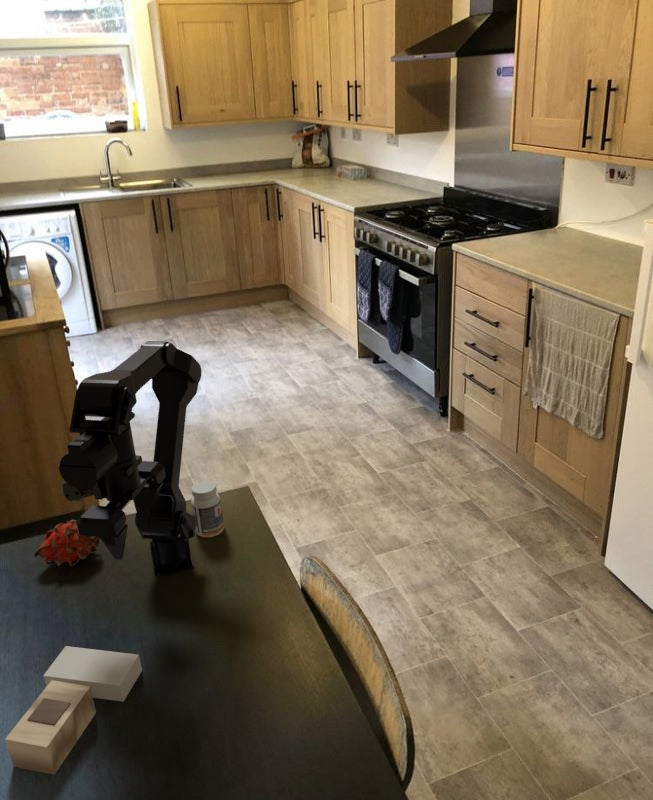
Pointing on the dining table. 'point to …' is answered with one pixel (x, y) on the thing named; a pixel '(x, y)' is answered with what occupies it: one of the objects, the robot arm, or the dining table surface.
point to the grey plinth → (96, 671)
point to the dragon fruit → (66, 545)
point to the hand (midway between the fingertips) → (132, 542)
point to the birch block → (51, 727)
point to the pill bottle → (207, 509)
